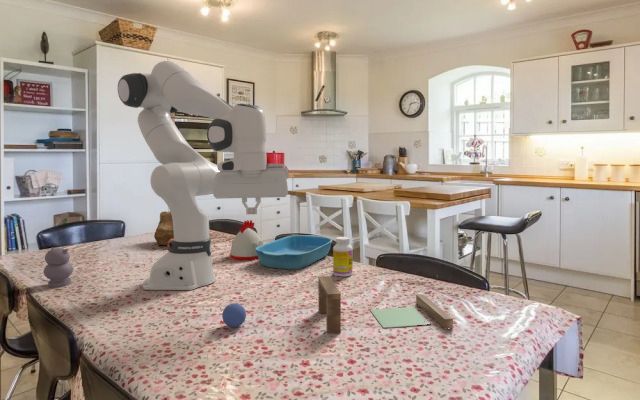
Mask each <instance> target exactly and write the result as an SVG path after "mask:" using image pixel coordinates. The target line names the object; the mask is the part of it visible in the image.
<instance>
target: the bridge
mask: <svg viewBox="0 0 640 400" xmlns="http://www.w3.org/2000/svg"><path fill="white" fill-rule="evenodd" d="M317 280H318V282H317V283H318V286H317V287H318V290H317V292H318V314H321V315H322V314H324V315H325V314H326V317H325V318H326V332H327V334H340V333H342V332H341V331H342V328H341V326H342V322H341V321H342V319H341V318H342V315H341V313H342V312H341V311H342V310H341V309H342V308H341V307H342V305H341V304H342V302H341V301H342V298H341V297H342V294H341V292H340V290H339V288H338V287H337V286H336V284H335V282H334V281H333V279H332V277H331V276H330V275H328V276H327V275H326V276H325V275H324V276H318V279H317Z"/></svg>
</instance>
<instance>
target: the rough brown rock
mask: <svg viewBox="0 0 640 400" xmlns="http://www.w3.org/2000/svg"><path fill="white" fill-rule="evenodd" d="M153 237H154V239H155V241H156V245H157V246H159V245H164V246H166V245H168V241H169V240H170V239H174V230H173V220H172V215H171V212H170V210H169V211H161V212H160V214H159V221H158V225H157V228H156V229H155V232H154V236H153Z"/></svg>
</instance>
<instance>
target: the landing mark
mask: <svg viewBox="0 0 640 400" xmlns="http://www.w3.org/2000/svg"><path fill="white" fill-rule="evenodd" d="M369 311H370V312H371V314H372V315H373V316H374V318H375V319H376V320H377V322H378V323H379V325H380V326H381V327H382V328H383V329H390V328H391V329H393V328H405V327H406V328H408V327H407V326H410V327H418V326H417V325H424V323H425V325H424V326H428V325H427V324H428V323H427V324H426V320H427V319H426V318H425V316H424V315H422V313H421V312H419V311H418V310H417V309H416V308H415V307H414V306H407V307H405V306H404V307H392V308H378V309H377V308H375V309H370V310H369ZM425 319H426V320H425ZM424 321H425V322H424ZM427 322H429V323H431V322H430V321H429V320H428V321H427Z"/></svg>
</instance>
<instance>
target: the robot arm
mask: <svg viewBox="0 0 640 400" xmlns="http://www.w3.org/2000/svg"><path fill="white" fill-rule="evenodd" d="M117 96H118V97H119V99H120V101H121V103H122V104H123V105H124V106H126V107H131V108H134V109H135V108H136V109H138V108H143V109H142V110H141V111H140V112H139V113H138V116H137V124H138V128H139V130H140V132H141V135H142V137H143V139H144V141H145V142H146V145H147V146H148V147H149V149H150V151H151V152H152V154H153V157H154V158H155V159H156V160H157V161H158V163H160V164H161V165H158V166H156V167H155V168H154V169H153V171H152V173H151V175H150V179H149V180H150V185H151V189H152V190H153V193H155V194H156V196H158V197H159V198H161V199H162V201H164V203H165V204H166V205H167V207H168V209H169V211H170V212H171V215H172V220H173V230H174V239H170V240H169V241H168V244H166V245H167V251H168V252H166V253H165V254H164V255H163V256H161V257H160V258H159V259H158V260H156V261H155V262H154V263H153V265H152V266H151V268H150V271H149V272H150V273H149V277H147V278H146V279H145V280H143V282H142V289H143V290H146V291H150V290H151V291H152V290H153V291H191V290H194V289H197V288H201V287H204V286H207V285H211V284H213V283H215V282H216V280H217V278H216V276H215V272H214V268H213V264H212V257H211V255H212V252H213V251H212V241H211V240H212V239H211V237H210V221H209V219H210V218H209V214H208V212H206V211H205V210H204V209H202V208H201V207H200V206H199V205H198V204H197V201H196V197H198V196H209V195H213V197H214V198H215V199H217V200H218V199H219V200H220V199H221V200H222V199H241V203H242V205H243V207H244V208H245V213H246V215H257V214H258V208H259V206H260V204H261V202H262V201H261V199H262V198H286V197H287V196H288V195H289V189H288V181H287V179H288V178H289V175H290V174H289V168H288V167H287V165H285V164H283V163H267V149H266V139H267V125H266V117H265V113H264V110H263V108H261V107H260V106H258V105H254V104H245V103H237V104H235V105H234V106H232V105H231V104H230V103H229V102H227V101H225V100H224V99H222V98H221V97H220V96H218V95H217V94H215V93H214V92H212V91H211V90H209V89H208V88H207V87H206V86H205V85H203V83H201V82H200V81H199V80H197V78H195V77H194V76H193V75H192V74H191V73H190V72H188V70H186V69H184V67H181V66H180V65H179V64H177V63H175V62H173V61H169V60H162V61H159V62H157V63H156V64H155V65H154V66H153V67H152V69H151V73H141V72H138V73H137V72H133V73H127V74H124V75H123V76H121V77H120V78H119V80H118V83H117ZM178 111H179V112H181V113H183V114H184V113H185V114H189V115H194V116H201V117H205V118H209V119H212V121H211V122H210V123H209V125H208V127H207V132H206V138H207V142H208V145H209V146H210V148H211V149H212V150H213V151H215V152H220V153H233V158H229V159H227V160H224V161H220V162H219V163H218V164H215V162H212V161H210V160H209V159H207V158H206V157H204V156H203V155H202V154H200V153H199V152H198V151H197V150H195V149H194V148H193V147H192V146H191V145H190V144H189V143H188V141H187V140H186V139H185V137H184V136H183V135H182V133H181V132H180V130H179V129H178V127H177V126H176V124H175V122H174V121H173V120H172V117H171V114H175V113H176V112H178ZM248 199H255V202H256V204H255V205H254V206H253V207H251V206H250V207H249V206H248V204H247V202H248Z"/></svg>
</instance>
